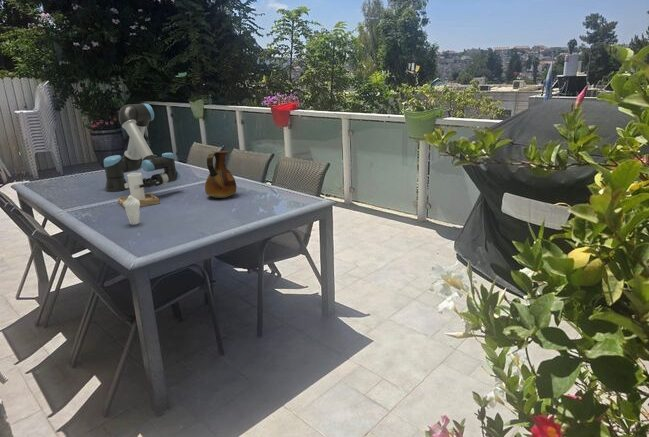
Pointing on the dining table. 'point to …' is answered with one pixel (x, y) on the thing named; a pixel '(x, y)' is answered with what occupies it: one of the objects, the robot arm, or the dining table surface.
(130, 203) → the soft serve ice cream cone
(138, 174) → the cup
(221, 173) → the ceramic pitcher
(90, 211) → the dining table surface
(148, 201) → the tray
